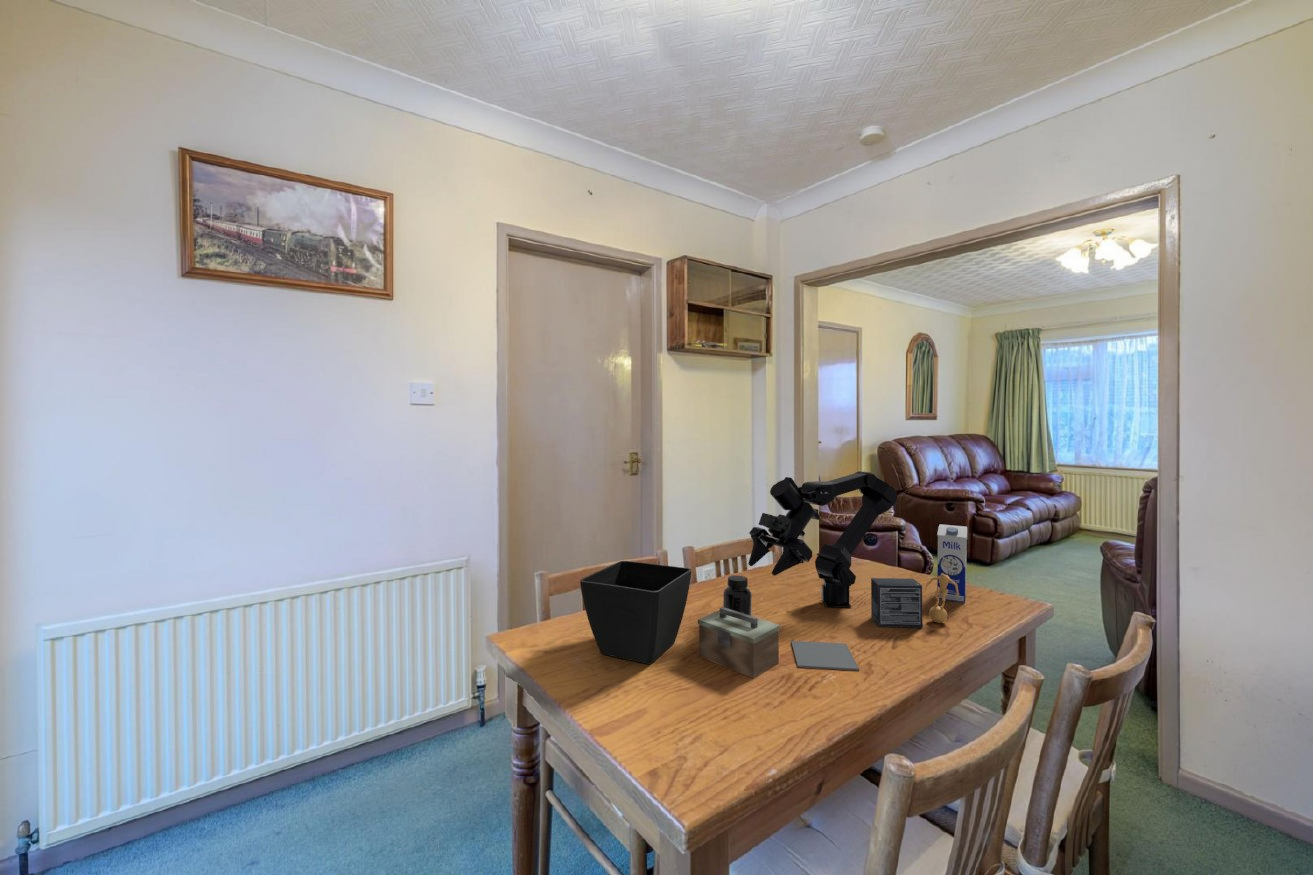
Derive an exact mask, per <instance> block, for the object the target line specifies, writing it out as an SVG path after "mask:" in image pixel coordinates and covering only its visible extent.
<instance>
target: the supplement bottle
mask: <svg viewBox="0 0 1313 875" xmlns="http://www.w3.org/2000/svg"><path fill="white" fill-rule="evenodd" d="M748 586H749V582H748V577H746V576H743V575H738V574H735V575H730V576H728V577H727V587H726V588H724V590H723V595H722V596H723V597H722V600H723V601H722V602H723V603H722V604H723V606H722V607H724V608H728V609H731V610H734V611H737V612H740V613H744V614H747V615H750V616H752V596H753V595H752V591H751V590H750V589H749V587H748Z"/></svg>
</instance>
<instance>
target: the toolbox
mask: <svg viewBox="0 0 1313 875" xmlns="http://www.w3.org/2000/svg"><path fill="white" fill-rule="evenodd" d="M697 624H698V648H699V649H698V656H699V657H701V658H703V659H706V660H708V661H710V662H712V663H715V664H717V665H720V666H723V667H725V668H727V669H730V670H732V671H735V672H737V673H739V674H742V675H745V676H747V677H750V678H752V679H755V678H757V677H758V676H760V675H762V674H764V673H765V672H767V671H768V670H770V669H772V668H774V667H775V666H776V665H778V664H779V663H780V661H779V660H780V658H779V656H780V652H779V650H780V649H779V648H780V647H779V646H780V644H779V643H780V642H779V641H780V640H779V639H780V638H779V634H780V633H779V631H781V624H777V623H774V622H771V621H768V620H764V619H761V618H758V617H756V616H753V615H751V616H750V615H747V614H744V613H740V612H737V611H734V610H731V609H728V608H724V607H723V606H722V607H719V609H718V610H716V611H714V612H712V613H709V614H706V615H704V616H702V617H699V618H698V619H697Z"/></svg>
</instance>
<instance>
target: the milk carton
mask: <svg viewBox="0 0 1313 875" xmlns="http://www.w3.org/2000/svg"><path fill="white" fill-rule="evenodd" d="M936 536H937V569H936V570H937V576H936V577H938V576H940V575H941V573H943V574H945V575H948V576H949V578H950V579H951V580H952V581H953V582H955V583H956V584H957V585H958V593H959V598H957V597H956V596H957V595H956V594H957V592H956V587H955V585H953V584H952V583H950V582H949V583H948V585H947V587H946V589H948V593H947V595H946V597H945V598H944V599H945V600H946V601H949V600H951V602H956V601H957V602H958V603H963V604H965V603H966V600H967V599H966V597H967V551H968V550H967V549H968V547H967V544H968V543H967V541H968V526H964V525H952V524H951V525H950V524H939V526H938V527H937V534H936ZM936 585H937V586H936V588H937V587H939V588H940V583H939V579H938V580H937V583H936ZM941 593H942V592H940V594H939V595H938V596H937V597H939V600H942V594H941ZM957 602H956V603H957Z"/></svg>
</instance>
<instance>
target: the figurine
mask: <svg viewBox="0 0 1313 875" xmlns="http://www.w3.org/2000/svg"><path fill="white" fill-rule="evenodd" d="M938 579H939V583H940V588H939V587H937V586H936V590H935V592H934V598H935V599H936V603H935V604H934V606H932V607H930V609H929V611H928V615H929V618H930V619H931V621H932V622H934V623H937V624H942V623H945V622H946V620H947V619H948V612H947V610H946V609H945V608H944V606H945V602H946V601H947V600H945V599H944V598H945V597H946V595H947V593H948V589H946V587H947V585H948V583H949V582H950V583H952V584H953V585H955V587H956V592H957V594H956V595H957V596H956V597H957V598H959V593H958V585H957V584H956V583H955V582H953V581H952V580H951V579H950V578H949V576H948V575H945V574H943V573H941V575H940V576H938V577H937V576H935V577H932V578H930V580H929V581H928V582H927V584H925V588H924V590H926V589H927V587H928V586H929V585H930V584H931V583H932V582H933V581H936V580H938ZM940 592H942V593H941V594H942V599H941V600H942V604H941V605H940V606H939V603H940V599H939V597H937V596H938V595H939V594H940Z"/></svg>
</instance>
